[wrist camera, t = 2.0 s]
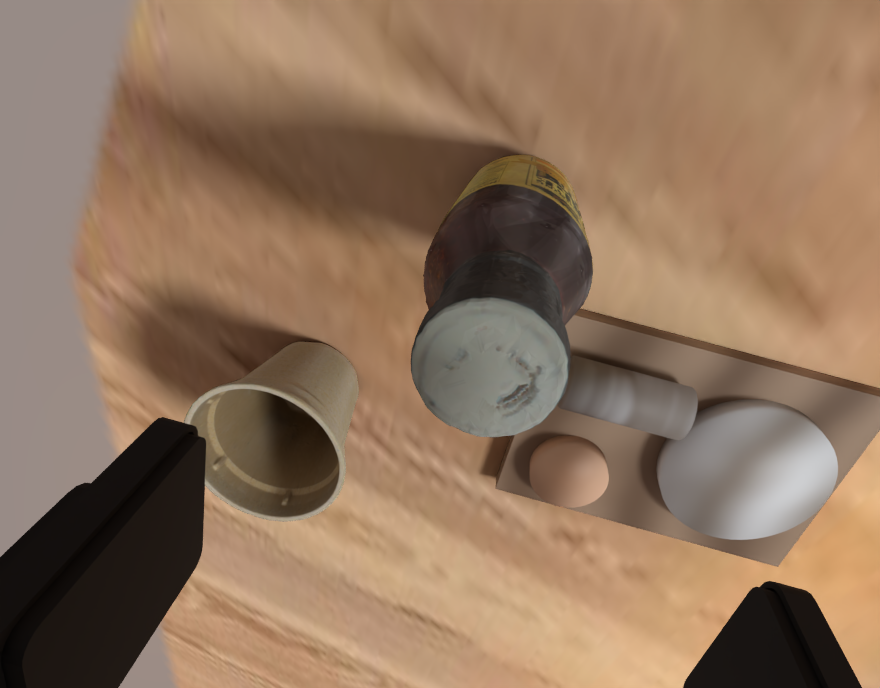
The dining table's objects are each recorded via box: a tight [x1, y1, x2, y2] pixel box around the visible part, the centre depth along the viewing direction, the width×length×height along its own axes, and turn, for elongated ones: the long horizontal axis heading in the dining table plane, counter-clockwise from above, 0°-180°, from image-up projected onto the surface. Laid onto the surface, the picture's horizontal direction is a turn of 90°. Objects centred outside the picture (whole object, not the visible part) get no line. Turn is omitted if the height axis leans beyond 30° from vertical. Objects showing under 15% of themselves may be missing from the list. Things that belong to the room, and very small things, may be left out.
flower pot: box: [184, 342, 359, 522], centre depth 35 cm, size 9×9×9 cm
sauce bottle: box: [411, 155, 593, 437], centre depth 23 cm, size 7×6×20 cm
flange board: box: [496, 309, 880, 567], centre depth 35 cm, size 20×14×4 cm
